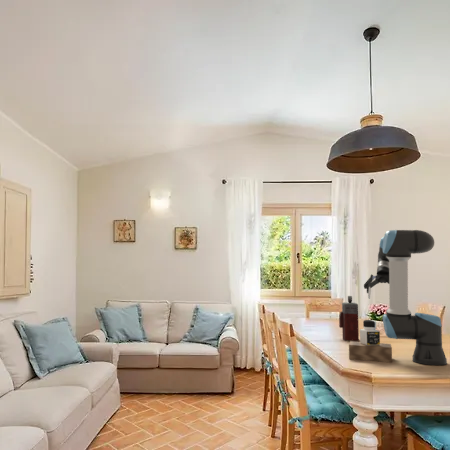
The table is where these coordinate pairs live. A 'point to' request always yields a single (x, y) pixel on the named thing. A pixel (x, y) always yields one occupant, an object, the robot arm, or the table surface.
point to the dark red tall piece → (349, 320)
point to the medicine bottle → (369, 333)
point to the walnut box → (370, 352)
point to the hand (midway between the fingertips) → (382, 297)
